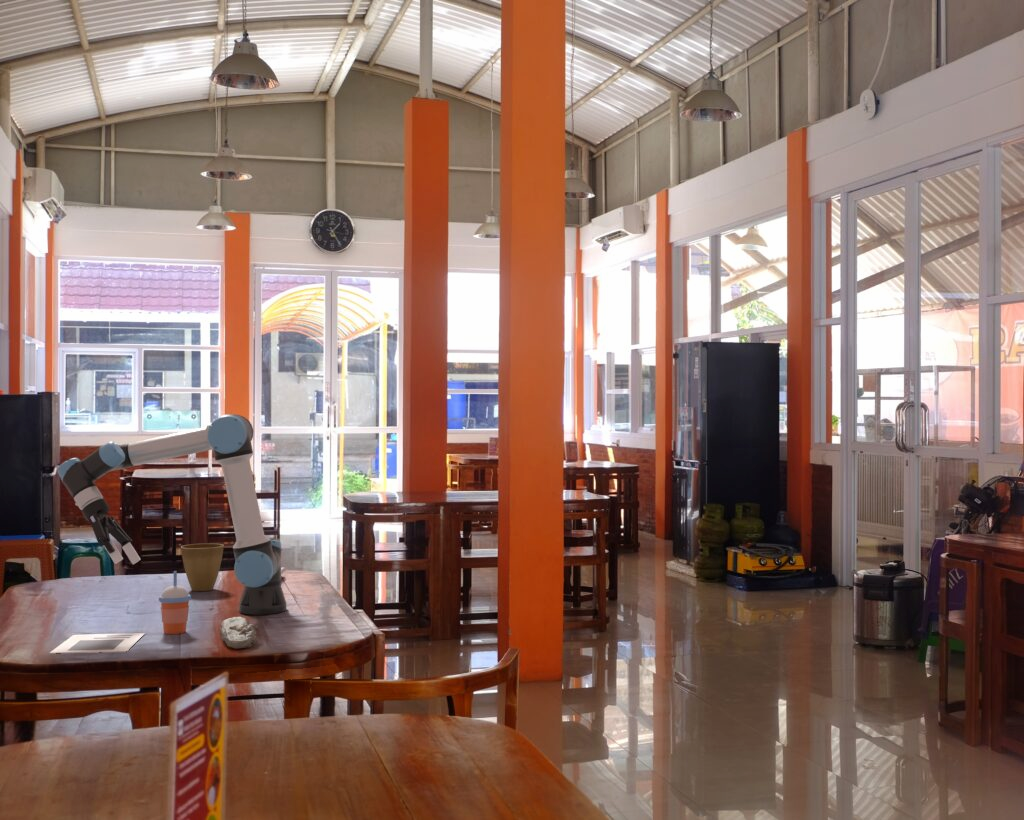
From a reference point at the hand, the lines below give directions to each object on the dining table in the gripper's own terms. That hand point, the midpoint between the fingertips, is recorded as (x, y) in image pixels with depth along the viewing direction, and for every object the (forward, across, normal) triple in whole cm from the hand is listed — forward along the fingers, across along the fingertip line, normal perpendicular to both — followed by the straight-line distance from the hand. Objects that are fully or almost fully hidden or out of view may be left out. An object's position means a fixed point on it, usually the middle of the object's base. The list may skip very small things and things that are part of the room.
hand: (128, 561), depth 317 cm
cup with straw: (+27, +6, +2) cm, 28 cm away
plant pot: (+9, -62, -3) cm, 63 cm away
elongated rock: (+40, +11, +18) cm, 45 cm away
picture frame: (+20, +22, -12) cm, 32 cm away
